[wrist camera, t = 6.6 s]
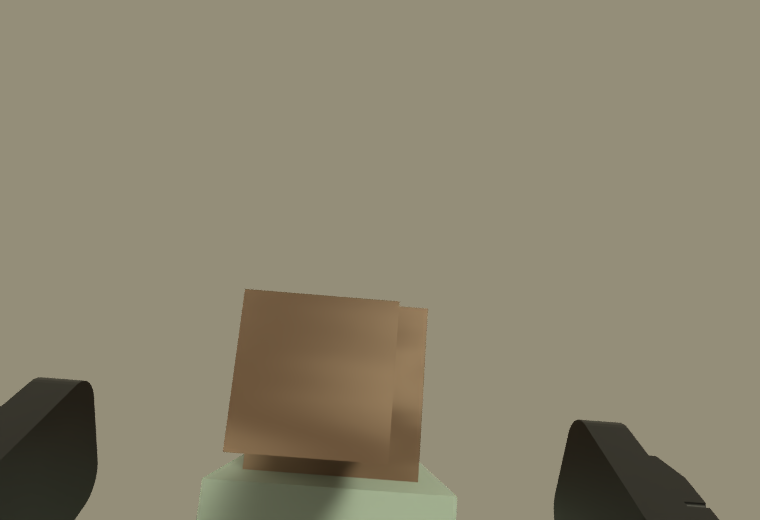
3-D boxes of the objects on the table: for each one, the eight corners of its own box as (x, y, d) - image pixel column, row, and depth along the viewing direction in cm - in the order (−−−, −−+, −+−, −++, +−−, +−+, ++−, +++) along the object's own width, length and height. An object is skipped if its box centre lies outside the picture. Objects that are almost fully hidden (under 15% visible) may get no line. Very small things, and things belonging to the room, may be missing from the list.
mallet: (404, 462, 25) (412, 328, 26) (492, 591, 8) (501, 214, 10) (269, 451, 25) (285, 317, 26) (91, 562, 8) (160, 185, 10)
